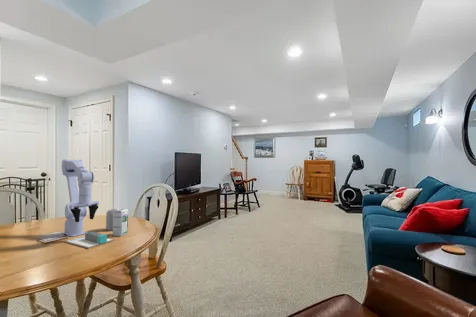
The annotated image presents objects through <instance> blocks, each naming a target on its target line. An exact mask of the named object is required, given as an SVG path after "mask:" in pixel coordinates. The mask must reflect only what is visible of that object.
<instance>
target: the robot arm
mask: <svg viewBox="0 0 476 317" xmlns="http://www.w3.org/2000/svg"><path fill="white" fill-rule="evenodd" d="M61 172H62V175H63V176H65V177H66V181H67V187H68V196H69V197H68V198H69V202H68V203H67V204H66V205H65V207H64V217H65V219H66V220H65V221H64V232H63V233H62V235H64V234H66V235H65V236H69V237H71V238H72V237H76V236H80V235H85V233H87V231H84V219H85V217H87V215H88V212H89V220H94V218H95V215H96V212H97V210H98V209H99V206H100V201H98V200H96V201H92V187H93V186H92V183H93V182H94V178H95V176H94V172H93V171H88V169H87V168H86V167H85V166H84V163H83V160H82V159H63V160H62V161H61ZM87 207H88V208H87ZM88 210H89V211H88Z"/></svg>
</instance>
